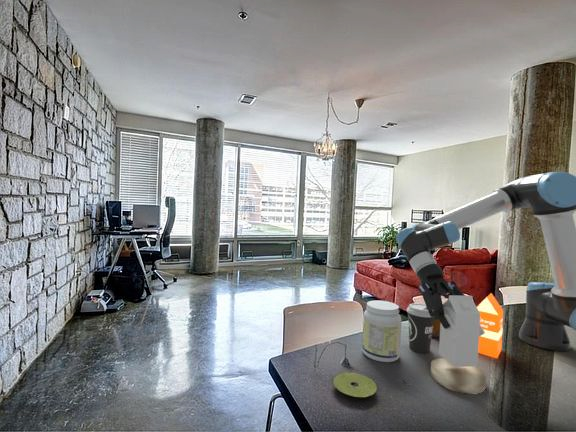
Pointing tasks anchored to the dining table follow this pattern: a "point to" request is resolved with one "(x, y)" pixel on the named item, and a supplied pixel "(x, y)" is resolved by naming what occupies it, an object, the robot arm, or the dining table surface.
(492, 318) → the orange juice
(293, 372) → the dining table surface
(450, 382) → the birch stand
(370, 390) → the green disc
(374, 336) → the supplement tub
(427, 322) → the coffee cup
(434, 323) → the condiment
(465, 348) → the milk carton
